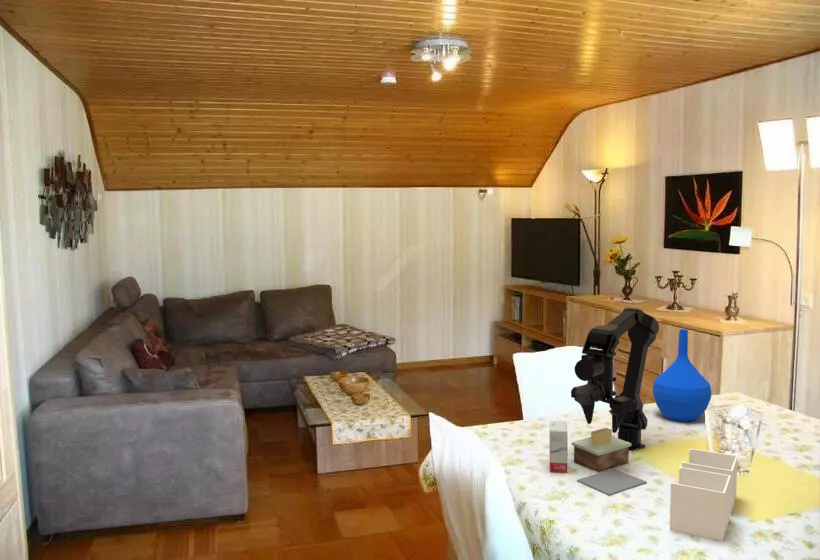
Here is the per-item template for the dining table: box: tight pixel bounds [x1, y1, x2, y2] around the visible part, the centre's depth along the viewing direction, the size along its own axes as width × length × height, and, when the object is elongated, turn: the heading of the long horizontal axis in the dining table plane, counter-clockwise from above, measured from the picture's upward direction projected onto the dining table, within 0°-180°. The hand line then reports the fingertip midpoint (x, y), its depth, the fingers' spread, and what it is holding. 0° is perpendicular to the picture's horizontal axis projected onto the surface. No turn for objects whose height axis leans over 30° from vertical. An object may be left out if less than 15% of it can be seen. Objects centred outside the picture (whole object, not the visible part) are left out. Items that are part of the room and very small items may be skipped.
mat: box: [576, 467, 648, 497], centre depth 182 cm, size 14×11×1 cm
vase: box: [652, 328, 712, 422], centre depth 234 cm, size 18×18×30 cm
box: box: [573, 446, 630, 473], centre depth 196 cm, size 12×9×5 cm
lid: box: [571, 427, 631, 456], centre depth 195 cm, size 13×10×5 cm
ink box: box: [548, 421, 569, 474], centre depth 193 cm, size 9×5×12 cm, turn 168°
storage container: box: [669, 448, 739, 542], centre depth 163 cm, size 25×11×11 cm, turn 149°
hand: (601, 428), depth 195 cm, fingers open, 9 cm apart
